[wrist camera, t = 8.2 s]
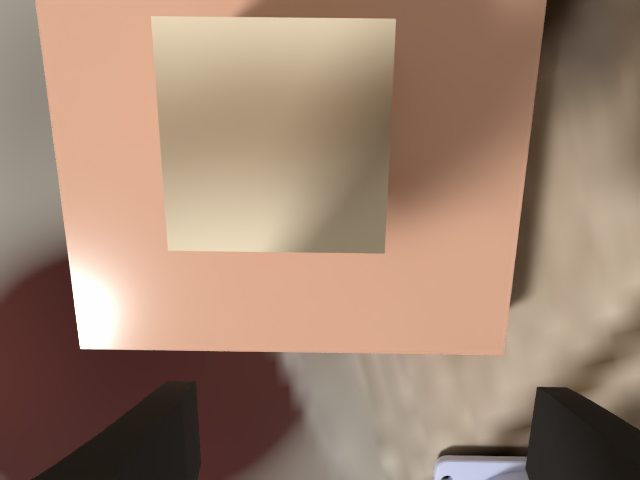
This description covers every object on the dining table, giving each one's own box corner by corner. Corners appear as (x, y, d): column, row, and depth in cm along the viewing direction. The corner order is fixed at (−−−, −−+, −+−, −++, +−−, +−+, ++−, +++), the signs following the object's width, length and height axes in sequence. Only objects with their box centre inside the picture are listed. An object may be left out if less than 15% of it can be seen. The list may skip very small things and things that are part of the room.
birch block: (367, 208, 16) (384, 253, 12) (214, 206, 16) (167, 250, 12) (373, 44, 15) (396, 18, 10) (206, 42, 15) (151, 16, 10)
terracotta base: (482, 324, 20) (503, 355, 18) (109, 319, 20) (80, 348, 18) (528, -105, 16) (563, -141, 14) (62, -109, 16) (16, -145, 14)
